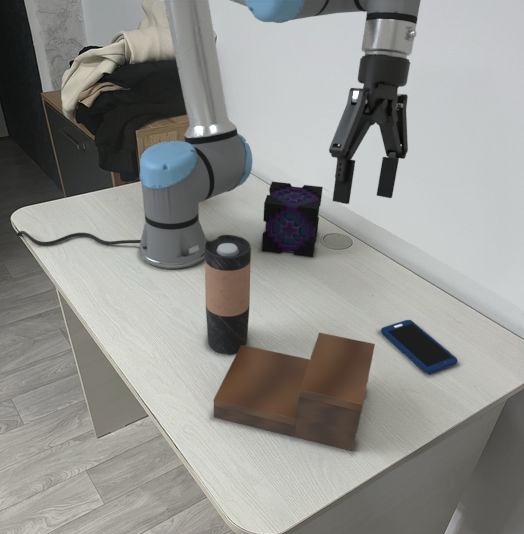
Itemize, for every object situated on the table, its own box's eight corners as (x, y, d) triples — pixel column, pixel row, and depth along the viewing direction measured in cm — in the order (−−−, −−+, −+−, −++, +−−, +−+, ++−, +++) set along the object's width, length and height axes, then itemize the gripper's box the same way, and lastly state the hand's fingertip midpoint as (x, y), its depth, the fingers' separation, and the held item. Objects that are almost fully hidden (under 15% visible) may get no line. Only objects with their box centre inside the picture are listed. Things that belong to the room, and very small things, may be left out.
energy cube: (261, 251, 126) (264, 202, 118) (269, 227, 135) (272, 181, 127) (313, 257, 125) (318, 208, 117) (317, 233, 134) (322, 186, 126)
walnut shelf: (213, 417, 85) (212, 370, 79) (240, 361, 95) (241, 316, 89) (352, 451, 81) (363, 404, 74) (364, 389, 91) (375, 343, 85)
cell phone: (408, 321, 107) (409, 318, 106) (458, 363, 97) (459, 360, 97) (379, 331, 104) (379, 327, 103) (427, 375, 95) (428, 372, 94)
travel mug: (247, 356, 97) (250, 258, 84) (204, 354, 96) (201, 256, 84) (248, 330, 102) (252, 235, 90) (208, 328, 102) (206, 233, 90)
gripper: (362, 45, 71) (340, 209, 80) (444, 65, 88) (418, 198, 97) (317, 45, 75) (300, 200, 84) (403, 64, 92) (382, 191, 101)
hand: (363, 199), depth 91 cm, fingers open, 13 cm apart
